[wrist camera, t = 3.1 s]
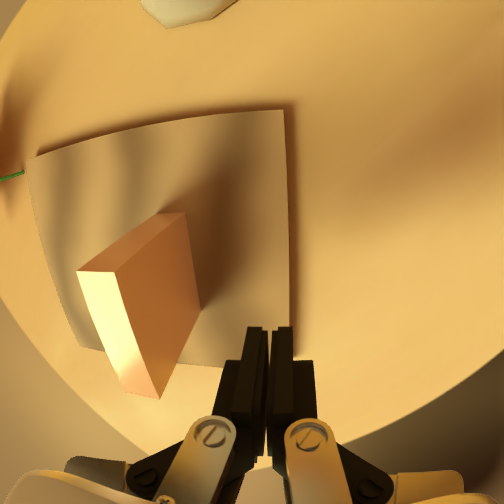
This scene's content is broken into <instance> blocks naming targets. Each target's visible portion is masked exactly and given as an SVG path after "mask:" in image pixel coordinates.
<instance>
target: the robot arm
mask: <svg viewBox="0 0 504 504" xmlns="http://www.w3.org/2000/svg"><path fill="white" fill-rule="evenodd" d="M266 432H267V450H268V456H272V463H273V469H274V470H275V471H276V472H278V473H279V474H280V475H281V476H282V477H283V486H284V494H285V501H286V504H497V502H496V501H495V500H494V499H493V498H492V497H490V496H487V495H484V494H476V493H464V491H463V490H464V487H463V479H462V477H461V475H460V474H459V473H457V472H455V471H451V470H445V471H434V472H418V473H399V474H398V475H388V474H386V473H385V472H383V471H382V470H380V469H378V468H376V467H375V466H373V465H371V464H370V463H368V462H366V461H365V460H363V459H361V458H360V457H358V456H357V455H355V454H354V453H352V452H350V451H349V450H347V449H346V448H344V447H343V446H341V445H340V444H338V443H337V442H336V441H335V438H334V434H333V432H332V430H331V428H330V426H328V425H327V424H326V423H325V422H323V421H321V420H318V419H317V404H316V390H315V378H314V366H313V360H299V361H293V330H292V326H282V327H278V330H272V339H271V352H270V365H269V345H268V330H263V329H262V327H254V326H248V327H247V331H246V336H245V341H244V346H243V351H242V356H241V360H226V361H225V365H224V368H223V372H222V376H221V380H220V384H219V388H218V392H217V396H216V399H215V403H214V407H213V411H212V415H211V416H205V417H203V418H200V419H198V420H197V421H196V422H194V423H193V425H192V426H191V427H190V429H189V431H188V433H187V435H186V437H185V439H184V440H182V441H180V442H178V443H176V444H174V445H172V446H170V447H168V448H166V449H164V450H162V451H160V452H158V453H156V454H153V455H151V456H149V457H147V458H145V459H143V460H140V461H138V462H136V463H134V464H127V463H126V462H125V461H115V460H106V459H99V458H92V457H85V456H75V457H73V458H71V459H70V460H69V461H68V462H67V464H66V465H65V469H64V472H61V471H56V470H46V469H41V470H32V471H29V472H27V473H25V474H24V475H23V476H21V477H20V478H19V480H18V481H17V482H16V484H15V485H14V486H13V488H12V489H11V491H10V492H9V494H8V496H7V498H6V500H5V501H4V503H3V504H235V502H236V500H237V497H238V494H239V491H240V488H241V485H242V482H243V480H244V477H245V473H246V472H248V471H249V470H251V469H252V468H254V463H257V457H258V456H263V454H264V444H265V433H266Z"/></svg>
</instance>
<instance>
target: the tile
mask: <svg viewBox="0 0 504 504" xmlns="http://www.w3.org/2000/svg"><path fill="white" fill-rule="evenodd" d="M76 273H77V276H78V279H79V282H80V285H81V288H82V291H83V294H84V297H85V300H86V303H87V306H88V308H89V311H90V314H91V316H92V319H93V321H94V324H95V327H96V329H97V331H98V334H99V336H100V339H101V341H102V343H103V346H104V348H105V350H106V353H107V355H108V357H109V359H110V361H111V363H112V366H113V368H114V370H115V372H116V374H117V376H118V378H119V380H120V382H121V384H122V386H123V388H124V390H125V392H126V393H131V394H135V395H140V396H144V397H149V398H154V399H160V398H161V396H162V394H163V391H164V389H165V387H166V385H167V383H168V381H169V378H170V376H171V374H172V372H173V370H174V368H175V365H176V363H177V361H178V359H179V357H180V355H181V353H182V350H183V348H184V346H185V344H186V342H187V340H188V338H189V336H190V333H191V331H192V329H193V327H194V325H195V323H196V321H197V319H198V317H199V315H200V312H201V308H200V302H199V296H198V291H197V285H196V279H195V273H194V267H193V261H192V254H191V248H190V241H189V234H188V227H187V220H186V212H176V213H160V214H155V215H153V216H152V217H150V218H149V219H147V220H146V221H144V222H143V223H141V224H140V225H138V226H137V227H136V228H134V229H133V230H131V231H130V232H128V233H127V234H125V235H124V236H123V237H121V238H120V239H118V240H117V241H116V242H114V243H113V244H111V245H110V246H109V247H107V248H106V249H105V250H103V251H102V252H101V253H99V254H98V255H97V256H95V257H94V258H93V259H91V260H90V261H89V262H87V263H86V264H85V265H83V266H82V267H81V268H79V269H78V270H77V271H76Z"/></svg>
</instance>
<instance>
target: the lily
mask: <svg viewBox="0 0 504 504" xmlns="http://www.w3.org/2000/svg"><path fill="white" fill-rule="evenodd" d="M21 174H24V171H20V172H17V173H14V174H11V175H8V176H5V177H2V178H0V181H3V180H6V179H9V178H12V177H15V176H18V175H21Z"/></svg>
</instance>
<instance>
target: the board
mask: <svg viewBox="0 0 504 504" xmlns="http://www.w3.org/2000/svg"><path fill="white" fill-rule="evenodd" d="M25 163H26V171H27V178H28V184H29V190H30V195H31V201H32V206H33V211H34V215H35V220H36V224H37V228H38V232H39V236H40V240H41V244H42V247H43V251H44V254H45V258H46V261H47V264H48V268H49V271H50V274H51V277H52V280H53V283H54V285H55V288H56V291H57V294H58V297H59V299H60V302H61V304H62V307H63V310H64V312H65V314H66V317H67V319H68V322H69V324H70V326H71V329H72V331H73V333H74V335H75V338H76V340H77V342H78V344H79V346H81V347H85V348H90V349H94V350H99V351H104V352H106V350H105V348H104V346H103V343H102V341H101V339H100V336H99V334H98V331H97V329H96V327H95V324H94V321H93V319H92V316H91V314H90V311H89V308H88V306H87V303H86V300H85V297H84V294H83V291H82V288H81V285H80V282H79V279H78V276H77V273H76V271H77V270H78V269H79V268H81V267H82V266H83V265H85V264H86V263H87V262H89V261H90V260H91V259H93V258H94V257H95V256H97V255H98V254H99V253H101V252H102V251H103V250H105V249H106V248H107V247H109V246H110V245H111V244H113V243H114V242H116V241H117V240H118V239H120V238H121V237H123V236H124V235H125V234H127V233H128V232H130V231H131V230H133V229H134V228H136V227H137V226H138V225H140V224H141V223H143V222H144V221H146V220H147V219H149V218H150V217H152V216H153V215H155V214H160V213H176V212H186V220H187V227H188V234H189V241H190V248H191V254H192V261H193V267H194V273H195V279H196V285H197V291H198V296H199V302H200V308H201V312H200V315H199V317H198V319H197V321H196V323H195V325H194V327H193V329H192V331H191V333H190V336H189V338H188V340H187V342H186V344H185V346H184V348H183V350H182V353H181V355H180V357H179V359H178V361H177V363H179V364H188V365H197V366H208V367H220V368H224V365H225V361H226V360H241V356H242V351H243V346H244V341H245V336H246V331H247V327H248V326H254V327H262V329H263V330H268V345H269V365H270V352H271V339H272V330H278V327H282V326H289V223H288V191H287V166H286V145H285V127H284V111H283V110H263V111H248V112H236V113H226V114H216V115H208V116H200V117H193V118H186V119H180V120H174V121H168V122H162V123H157V124H152V125H147V126H142V127H137V128H133V129H128V130H124V131H120V132H115V133H111V134H107V135H104V136H100V137H96V138H93V139H89V140H86V141H82V142H79V143H75V144H72V145H69V146H66V147H63V148H60V149H57V150H54V151H51V152H48V153H45V154H42V155H40V156H37V157H34V158H32V159H29V160H26V161H25Z"/></svg>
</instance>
